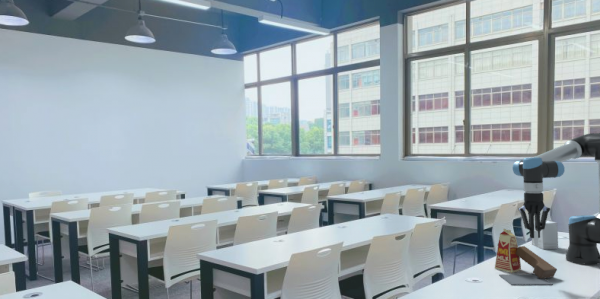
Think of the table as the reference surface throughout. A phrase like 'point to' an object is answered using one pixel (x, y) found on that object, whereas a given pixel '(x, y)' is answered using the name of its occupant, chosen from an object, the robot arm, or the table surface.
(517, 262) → the milk carton
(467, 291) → the table surface
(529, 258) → the wooden block
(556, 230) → the supplement box
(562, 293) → the table surface
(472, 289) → the table surface
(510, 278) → the mat
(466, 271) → the table surface
